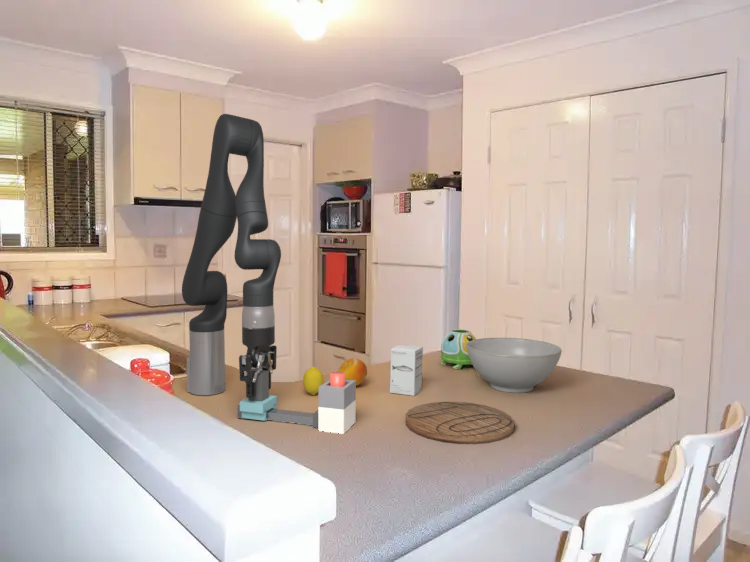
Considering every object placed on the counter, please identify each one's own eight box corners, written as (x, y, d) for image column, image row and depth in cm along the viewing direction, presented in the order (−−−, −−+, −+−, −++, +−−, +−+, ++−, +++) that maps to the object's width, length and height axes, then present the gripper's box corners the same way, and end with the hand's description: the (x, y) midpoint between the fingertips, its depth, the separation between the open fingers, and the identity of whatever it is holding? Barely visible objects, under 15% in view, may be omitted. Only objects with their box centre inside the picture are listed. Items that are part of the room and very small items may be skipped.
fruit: (332, 388, 158) (332, 360, 157) (344, 381, 166) (345, 354, 165) (360, 391, 155) (360, 363, 154) (371, 384, 163) (371, 357, 162)
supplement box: (389, 393, 154) (389, 348, 153) (398, 386, 160) (398, 343, 159) (414, 396, 151) (415, 350, 150) (422, 389, 158) (423, 345, 157)
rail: (237, 418, 131) (237, 405, 131) (248, 412, 136) (248, 399, 136) (317, 428, 125) (317, 414, 125) (325, 421, 130) (326, 408, 130)
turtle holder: (473, 375, 175) (474, 337, 174) (432, 364, 189) (433, 329, 188) (498, 369, 183) (499, 333, 182) (457, 359, 197) (458, 326, 196)
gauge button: (327, 401, 125) (327, 374, 124) (333, 396, 128) (333, 371, 128) (341, 402, 124) (342, 376, 123) (347, 398, 127) (347, 372, 127)
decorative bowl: (525, 372, 179) (526, 335, 178) (580, 396, 153) (582, 352, 152) (449, 378, 170) (450, 339, 169) (495, 404, 145) (496, 358, 144)
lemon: (319, 399, 148) (320, 369, 147) (300, 397, 149) (300, 368, 148) (325, 393, 153) (326, 364, 152) (306, 391, 154) (306, 363, 153)
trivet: (383, 420, 132) (383, 413, 132) (459, 403, 147) (459, 396, 147) (458, 455, 112) (458, 445, 112) (537, 430, 127) (537, 422, 127)
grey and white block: (318, 431, 124) (318, 387, 123) (331, 419, 131) (331, 378, 130) (343, 434, 122) (343, 389, 121) (355, 422, 129) (355, 380, 129)
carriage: (239, 418, 130) (239, 374, 129) (254, 410, 136) (254, 367, 136) (262, 421, 128) (262, 376, 127) (276, 412, 135) (276, 369, 134)
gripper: (259, 319, 138) (259, 384, 140) (227, 328, 125) (228, 400, 126) (286, 320, 136) (286, 387, 138) (257, 330, 123) (258, 403, 124)
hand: (258, 393), depth 132 cm, fingers open, 7 cm apart
